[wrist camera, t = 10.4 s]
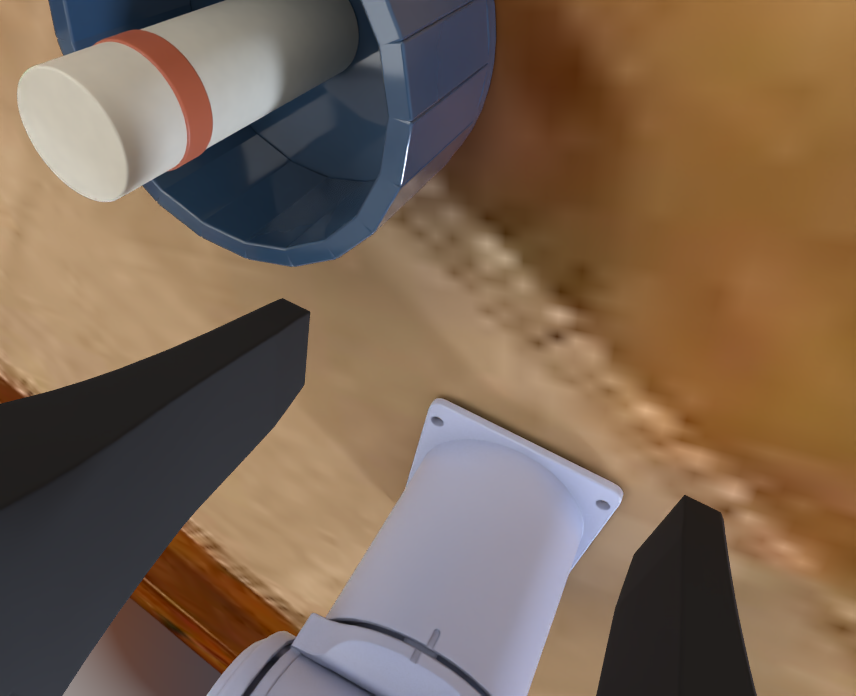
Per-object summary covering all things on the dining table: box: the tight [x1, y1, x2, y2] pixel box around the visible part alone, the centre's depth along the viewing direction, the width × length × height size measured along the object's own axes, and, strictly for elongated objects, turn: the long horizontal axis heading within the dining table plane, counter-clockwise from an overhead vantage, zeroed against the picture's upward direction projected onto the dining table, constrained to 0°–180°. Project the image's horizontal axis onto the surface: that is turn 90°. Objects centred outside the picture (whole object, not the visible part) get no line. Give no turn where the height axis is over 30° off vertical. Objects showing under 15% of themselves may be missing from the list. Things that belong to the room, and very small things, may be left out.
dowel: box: [17, 0, 359, 202], centre depth 15 cm, size 3×3×8 cm
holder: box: [48, 0, 496, 267], centre depth 17 cm, size 10×10×5 cm
